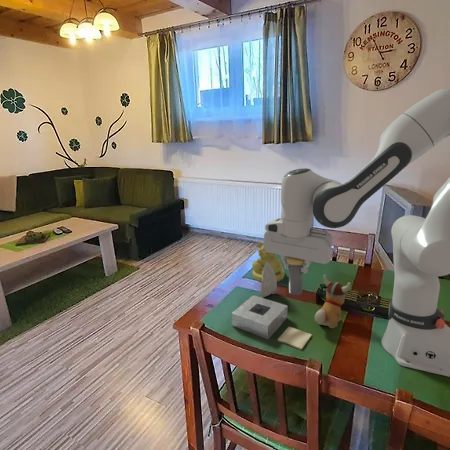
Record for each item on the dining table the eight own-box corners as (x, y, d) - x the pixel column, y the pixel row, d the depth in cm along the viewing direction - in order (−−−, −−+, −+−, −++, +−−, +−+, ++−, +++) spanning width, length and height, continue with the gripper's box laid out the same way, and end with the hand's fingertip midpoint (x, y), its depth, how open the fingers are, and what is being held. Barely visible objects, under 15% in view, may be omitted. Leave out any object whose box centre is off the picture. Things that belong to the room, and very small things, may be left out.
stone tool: (263, 301, 127) (262, 265, 123) (258, 298, 130) (257, 263, 125) (279, 293, 132) (278, 259, 127) (273, 290, 134) (273, 257, 130)
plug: (307, 290, 100) (307, 256, 97) (299, 297, 96) (300, 262, 93) (291, 286, 103) (291, 253, 100) (283, 293, 99) (284, 259, 96)
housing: (287, 318, 116) (287, 305, 114) (267, 339, 105) (267, 326, 104) (253, 306, 124) (253, 295, 122) (232, 325, 113) (231, 313, 112)
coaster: (311, 335, 106) (311, 334, 105) (301, 349, 100) (301, 348, 99) (288, 328, 110) (288, 326, 110) (277, 340, 104) (277, 339, 104)
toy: (352, 317, 114) (355, 278, 109) (330, 339, 104) (333, 297, 99) (326, 308, 120) (328, 270, 116) (304, 327, 110) (305, 287, 106)
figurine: (246, 277, 148) (244, 246, 143) (264, 265, 158) (263, 236, 153) (273, 286, 138) (273, 253, 134) (290, 273, 149) (291, 242, 144)
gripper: (336, 228, 90) (334, 274, 94) (270, 218, 102) (271, 259, 106) (328, 235, 85) (326, 283, 89) (260, 224, 97) (261, 267, 101)
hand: (295, 270), depth 98 cm, fingers closed on plug, 4 cm apart
